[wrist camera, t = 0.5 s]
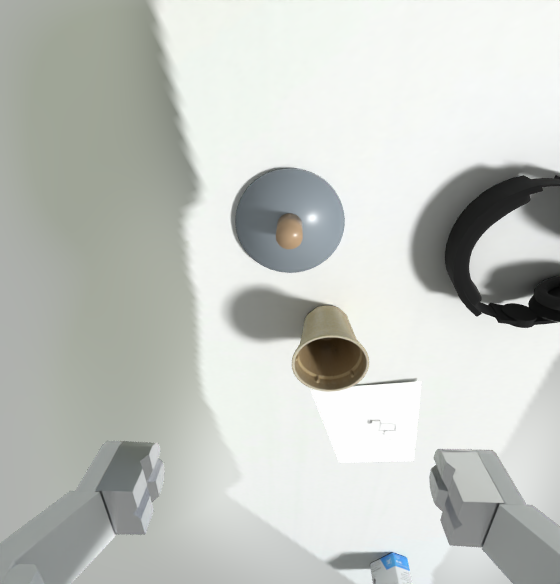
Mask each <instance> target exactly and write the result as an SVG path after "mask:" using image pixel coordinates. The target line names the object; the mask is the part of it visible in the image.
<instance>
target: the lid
mask: <svg viewBox="0 0 560 584" xmlns="http://www.w3.org/2000/svg"><path fill="white" fill-rule="evenodd" d="M344 221H345V218H344V211H343V207H342V204H341V201H340V199H339V197H338V195H337V193H336V192H335V190H334V189H333V188H332V187H331V185H330V184H328V183H327V182H326V181H325V180H324V179H322V178H321V177H319V176H318V175H316V174H314V173H312V172H309V171H306V170H302V169H295V168H285V169H279V170H274V171H271V172H269V173H266V174H264V175H263V176H261V177H259V178H258V179H256V180H255V181H254V182H253V183H252V184H251V185H250V186H249V187H248V188H247V189H246V191H245V192H244V194H243V196H242V197H241V200H240V202H239V204H238V208H237V212H236V230H237V234H238V238H239V240H240V242H241V244H242V246H243V248H244V249H245V251H246V252H247V253H248V254H249V255H250V256H251V257H252V258H253V259H254V260H255V261H256V262H258V263H259V264H261V265H263V266H264V267H267V268H269V269H272V270H275V271H279V272H288V273H292V272H301V271H305V270H309V269H311V268H314V267H316V266H318V265H319V264H321V263H322V262H324V261H325V260H326V259H328V258H329V257H330V256H331V255H332V253H333V252H334V251H335V250H336V248H337V246H338V245H339V243H340V241H341V238H342V235H343V231H344Z"/></svg>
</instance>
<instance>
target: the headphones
mask: <svg viewBox="0 0 560 584" xmlns="http://www.w3.org/2000/svg"><path fill="white" fill-rule="evenodd" d="M547 186H560V176H557V175H556V176H555V178H554V179H553V178H538V179H530V178H528V177H526V176H524V175H523V176H519V177H515V178H512V179H509V180H507V181H504V182H502V183H500V184H497V185H495V186H493V187H491V188H489V189H488V190H486V191H485V192H483V193H482V194H481V195H479V196H478V197H477V198H476V199H475V200H474V201H472V202H471V203H470V204H469V205H468V206H467V207H466V209H465V210H464V211H463V212H462V213H461V215H460V216H459V218H458V219H457V221H456V222H455V224H454V226H453V228H452V230H451V232H450V235H449V238H448V241H447V245H446V251H445V263H446V268H447V271H448V274H449V276H450V278H451V280H452V283H453V285H454V287H455V289H456V291H457V293H458V296H459V297H460V299H461V300H462V302H463V303H464V304H465V306H466V307H467V308H468V309H469V310H470V311H471V312H472V313H473V314H474V315H475V316H479V315H480V314H482V313H484V314H487V315H490V316H493V317H495V318H496V319H497V321H498V323H506V324H510V325H513V326H516V327H521V328H528V327H532V326H534V325H538V324H549V323H557V322H560V276H556V277H552V278H549V279H547V280H545V281H543V282H541V283H540V284H539V285H538V286H537V287H536V288H535V290H534V295H533V296H532V298H531V299H530V301H529V307H527V306H524V305H520V304H513V303H511V304H505V305H499V304H494V303H489V305H486V304H483V303H481V302H480V301H481V295H480V293H479V291H478V289H477V287H476V286H475V284H474V283H473V282H472V280H471V278H470V273H469V262H470V256H471V253H472V250H473V248H474V246H475V244H476V242H477V241H478V240H479V238H480V237H481V236H482V234H483V233H484V232H485V231H486V230H487V229H488V228H489V227H490V226H492V225H493V224H494V223H495V222H497V221H498V220H500V219H501V218H502V217H504V216H505V215H507V214H508V213H510V212H511V211H513V210H515V209H517V208H518V207H520V206H522V205H524V204H526V203H528V202H529V201H530V194H534V193H537V192H541V191H543V189H542V187H547ZM481 312H482V313H481Z"/></svg>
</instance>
